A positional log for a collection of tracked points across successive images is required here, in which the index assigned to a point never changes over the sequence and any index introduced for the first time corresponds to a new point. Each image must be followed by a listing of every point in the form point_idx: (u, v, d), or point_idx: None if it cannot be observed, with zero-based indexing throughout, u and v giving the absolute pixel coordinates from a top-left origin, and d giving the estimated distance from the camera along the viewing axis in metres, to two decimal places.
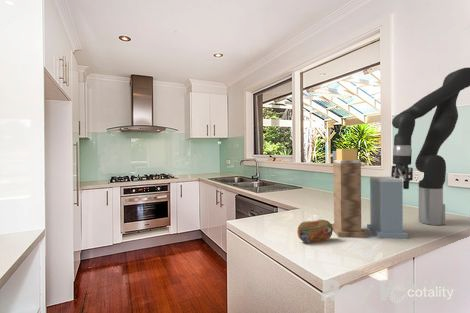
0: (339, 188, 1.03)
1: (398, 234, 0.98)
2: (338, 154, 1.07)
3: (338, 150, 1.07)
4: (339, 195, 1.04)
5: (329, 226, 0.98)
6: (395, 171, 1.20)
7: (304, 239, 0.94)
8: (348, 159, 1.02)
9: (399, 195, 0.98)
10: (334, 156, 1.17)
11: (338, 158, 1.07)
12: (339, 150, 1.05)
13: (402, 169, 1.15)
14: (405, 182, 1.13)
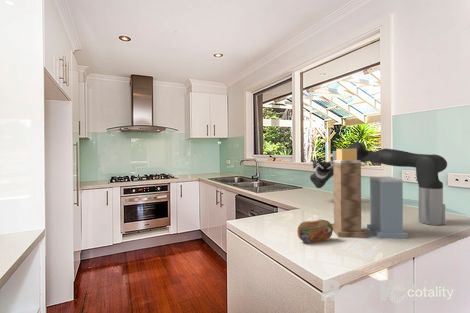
0: (339, 188, 1.03)
1: (398, 234, 0.98)
2: (338, 154, 1.07)
3: (338, 150, 1.07)
4: (339, 195, 1.04)
5: (329, 226, 0.98)
6: (329, 167, 1.41)
7: (304, 239, 0.94)
8: (348, 159, 1.02)
9: (399, 195, 0.98)
10: (334, 156, 1.17)
11: (338, 158, 1.07)
12: (339, 150, 1.05)
13: (320, 167, 1.44)
14: (318, 162, 1.39)
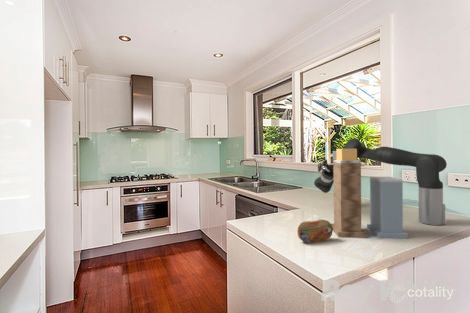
0: (339, 188, 1.03)
1: (398, 234, 0.98)
2: (338, 154, 1.07)
3: (338, 150, 1.07)
4: (339, 195, 1.04)
5: (329, 226, 0.98)
6: None
7: (304, 239, 0.94)
8: (348, 159, 1.02)
9: (399, 195, 0.98)
10: (334, 156, 1.17)
11: (338, 158, 1.07)
12: (339, 150, 1.05)
13: (325, 170, 1.31)
14: (323, 165, 1.26)
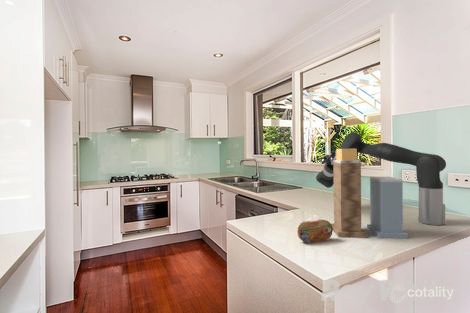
0: (339, 188, 1.03)
1: (398, 234, 0.98)
2: (338, 154, 1.07)
3: (338, 150, 1.07)
4: (339, 195, 1.04)
5: (329, 226, 0.98)
6: None
7: (304, 239, 0.94)
8: (348, 159, 1.02)
9: (399, 195, 0.98)
10: (334, 156, 1.17)
11: (338, 158, 1.07)
12: (339, 150, 1.05)
13: (329, 163, 1.24)
14: (331, 156, 1.18)
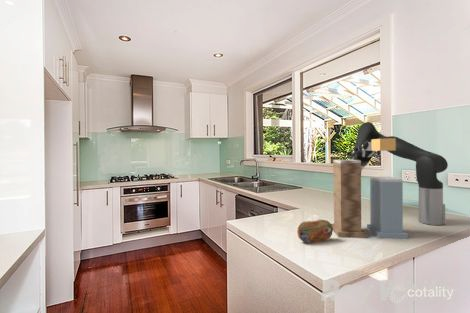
0: (339, 188, 1.03)
1: (398, 234, 0.98)
2: (374, 144, 1.04)
3: (374, 140, 1.04)
4: (339, 195, 1.04)
5: (329, 226, 0.98)
6: (370, 154, 1.19)
7: (304, 239, 0.94)
8: (386, 149, 0.99)
9: (399, 195, 0.98)
10: (367, 147, 1.14)
11: (374, 148, 1.05)
12: (376, 140, 1.03)
13: (359, 155, 1.22)
14: (364, 147, 1.16)
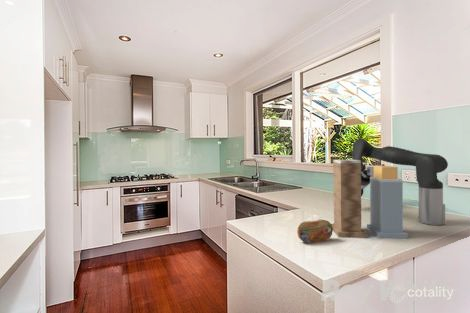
0: (339, 188, 1.03)
1: (398, 234, 0.98)
2: (376, 172, 1.05)
3: (376, 167, 1.05)
4: (339, 195, 1.04)
5: (329, 226, 0.98)
6: None
7: (304, 239, 0.94)
8: (388, 178, 1.00)
9: (399, 195, 0.98)
10: (369, 172, 1.15)
11: (376, 176, 1.05)
12: (378, 168, 1.03)
13: (361, 176, 1.22)
14: (361, 170, 1.17)
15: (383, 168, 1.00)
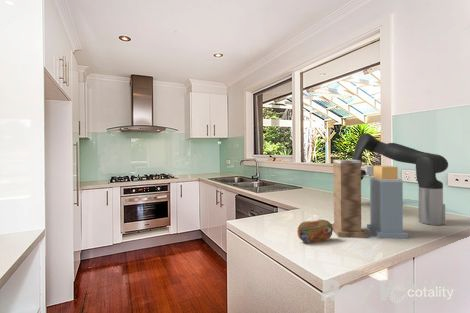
0: (339, 188, 1.03)
1: (398, 234, 0.98)
2: (376, 172, 1.05)
3: (376, 167, 1.05)
4: (339, 195, 1.04)
5: (329, 226, 0.98)
6: (364, 175, 1.31)
7: (304, 239, 0.94)
8: (388, 178, 1.00)
9: (399, 195, 0.98)
10: (369, 172, 1.15)
11: (376, 176, 1.05)
12: (378, 168, 1.03)
13: None
14: None
15: (383, 168, 1.00)
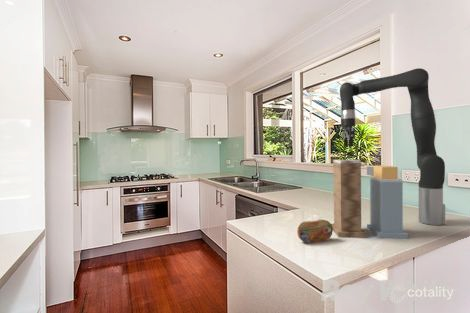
0: (339, 188, 1.03)
1: (398, 234, 0.98)
2: (376, 172, 1.05)
3: (376, 167, 1.05)
4: (339, 195, 1.04)
5: (329, 226, 0.98)
6: (343, 133, 1.40)
7: (304, 239, 0.94)
8: (388, 178, 1.00)
9: (399, 195, 0.98)
10: (369, 172, 1.15)
11: (376, 176, 1.05)
12: (378, 168, 1.03)
13: (347, 130, 1.35)
14: (350, 140, 1.33)
15: (383, 168, 1.00)
